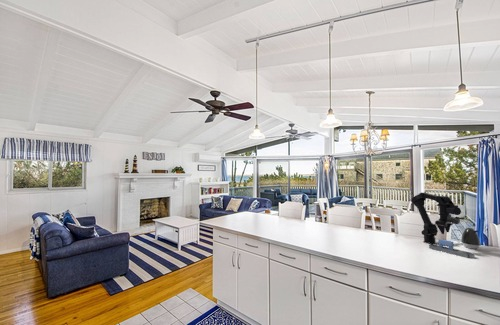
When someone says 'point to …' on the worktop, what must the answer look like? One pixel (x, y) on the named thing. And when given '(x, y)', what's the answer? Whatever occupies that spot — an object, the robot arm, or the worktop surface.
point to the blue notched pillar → (445, 243)
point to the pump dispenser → (470, 238)
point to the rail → (452, 251)
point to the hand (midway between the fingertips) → (445, 233)
